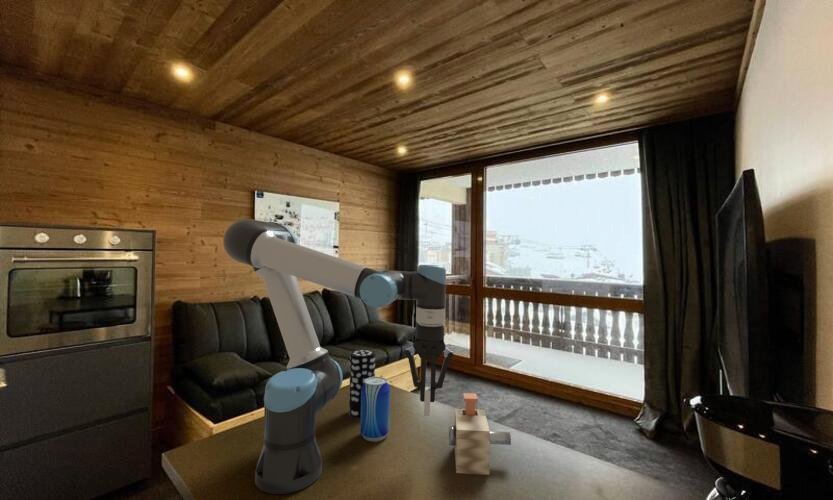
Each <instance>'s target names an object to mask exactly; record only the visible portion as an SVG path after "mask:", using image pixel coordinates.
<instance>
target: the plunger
mask: <svg viewBox="0 0 833 500" xmlns="http://www.w3.org/2000/svg"><path fill="white" fill-rule="evenodd" d="M462 397H463V402H465V404H464V405H465V407H464V409H465V415H474V416H475V409H476V403H478V402H479V401H478V400H479V399H478V394H477V393H471V392H469V393H467V392H463V394H462Z"/></svg>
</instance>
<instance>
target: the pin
mask: <svg viewBox="0 0 833 500" xmlns="http://www.w3.org/2000/svg"><path fill="white" fill-rule="evenodd" d="M511 436H512V435H511V431H501V430H500V431H498V430H490V445H505V446H511V443H512V438H511ZM455 444H456V429H455V425H449V426H448V446H449V447H450V446H452V447H454V446H455Z"/></svg>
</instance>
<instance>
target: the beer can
mask: <svg viewBox="0 0 833 500" xmlns="http://www.w3.org/2000/svg"><path fill="white" fill-rule="evenodd" d="M364 382H365V383H364V384H363V386H362V388H361V419H360V431H359V432H360V435H361V436H362V438H363V439H364V440H366V441H369V442H380V441H382V440H384V439H386V438H387V436H388V435H389V433H390V419H391V418H390V417H391V416H390V414H391V413H390V412H391V410H390V409H391V408H390V407H391V406H390V405H391V387H390V385H389V383H388V380H387V378H385V377H383V376H375V377H370V378H367V379H365V381H364Z"/></svg>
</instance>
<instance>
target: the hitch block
mask: <svg viewBox="0 0 833 500" xmlns="http://www.w3.org/2000/svg"><path fill="white" fill-rule="evenodd" d="M454 426H455V429H456V444H455V446H453V447H454V460H455V473H456V474H465V475H466V474H468V475H485V476H489V475H490V473H491V472H490V470H491V469H490V467H491V466H490V464H491V463H490V462H491V459H490V458H491V457H490V455H491V454H490V452H491V451H490V449H491V444H490V431H491V430H490V427H489V423H488V420H487V416H486V412H485V409H476V408H475V416H474V415H465V408H454Z"/></svg>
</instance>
